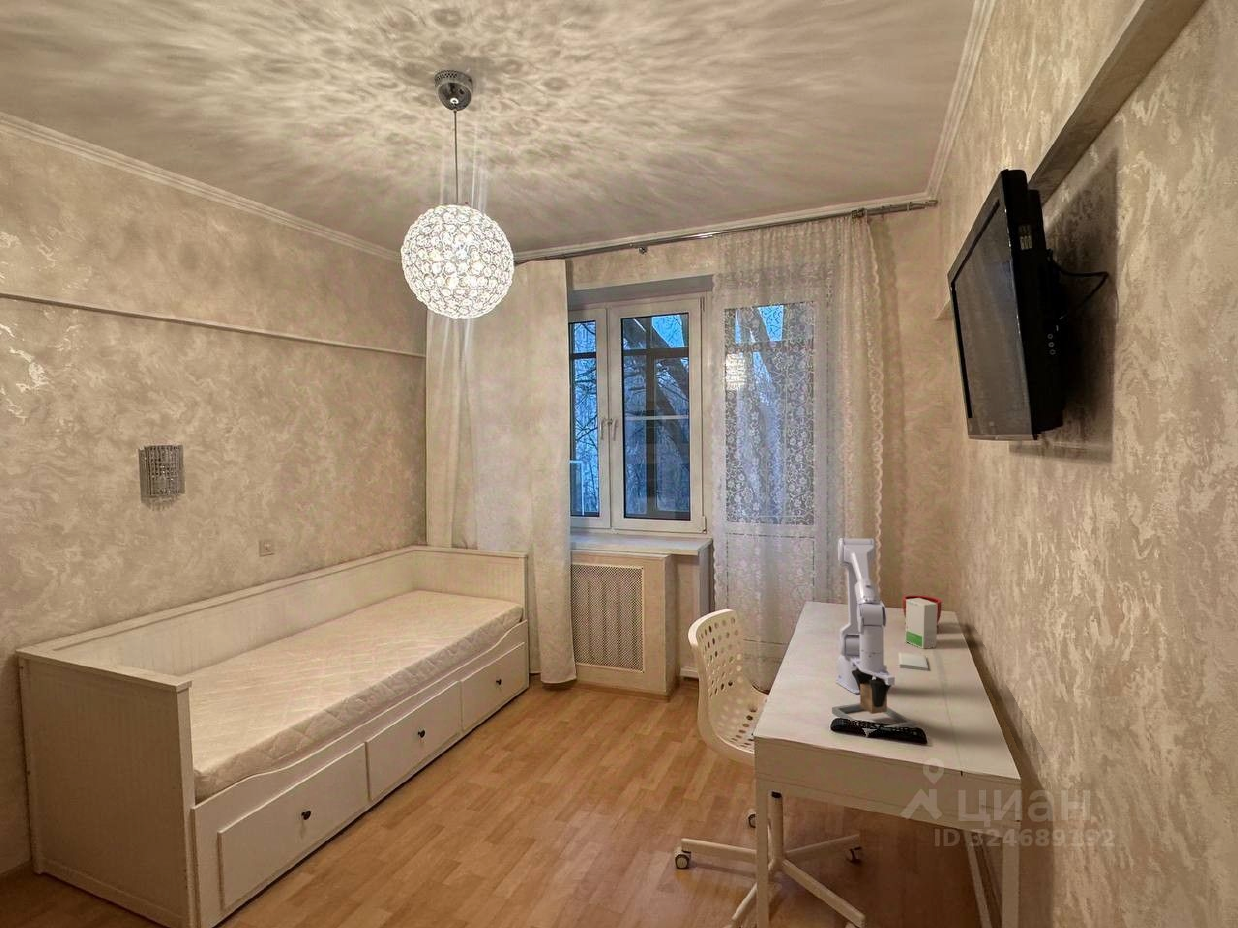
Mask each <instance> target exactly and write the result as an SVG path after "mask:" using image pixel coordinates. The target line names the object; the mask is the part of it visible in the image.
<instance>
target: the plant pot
mask: <svg viewBox="0 0 1238 928" xmlns="http://www.w3.org/2000/svg"><path fill="white" fill-rule="evenodd" d="M915 598H921V599H924V600H928V601H930V602H933V603H936V604H938V609H937V631H938V630H940V626H939V625H938V623H939V622H940V619H941V617H942V616H941V614H942V605H943V604H942V601H941V599H939V598H936V597H931V596H925V595H906V596H903V598H902V610H903V615H904V618H905V619H906V600H907V599H915ZM904 625H905V627H906V621H905V623H904Z"/></svg>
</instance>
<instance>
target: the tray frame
mask: <svg viewBox="0 0 1238 928" xmlns="http://www.w3.org/2000/svg"><path fill="white" fill-rule="evenodd" d="M858 711H866V710H865V709H863V708H862V707H860V702H859V703H852V704H851V703H850V704H846V705H845V704H844V705H840V706H832V707H831V713H832V715H835V716H836V717H838V718H839V717H840V718H844V719H848V720H850V721H855V722H858V721H857V720H856V719H854V718H853V717H851V716H850V715H848V714H847V713H852V712H853V713H854V712H858ZM883 713H884V714H885V715H887V716H888V717H890V718H892V719H893V720H895V721H897V722H898V723H893V724H888V725H883V726H884V727H909V728H915V729H916V727H915V724H916V723H914V722H913V721H912V720H910V719H909V718H907V717H905V716H903V715H902V714H900V713H898V712H897V711H895V710H893V709H892V708H890V707H888V706H887V712H883ZM840 718H839V719H840ZM870 728H871V727H870ZM870 728H867V727H866V728H862V729H863V730H864V732H865V734H866V736H865V737H866V738H869V737H868V735H869V733H871V732H873V731H875V730H877V729H870Z"/></svg>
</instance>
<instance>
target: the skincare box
mask: <svg viewBox="0 0 1238 928" xmlns="http://www.w3.org/2000/svg"><path fill="white" fill-rule="evenodd" d="M937 609H938V604H936V603H933V602H930V601H928V600H924V599H921V598H915V599H907V600H906V618H905V622H906V626H905V633H904V635H905V636H904V638H905V640H904V641H907V642H909V643H911V644H910V645H912V644H913V645H912V646H914V645H915V647H917V646H918V647H917V648H919V647H921V648H920V649H922V648H923V649H922V650H925V649H924V648H927V649H930V648H929V647H933V646H936V647H937V635H938V632H937V631H938V630H937V625H938V623H937V612H938V611H937ZM907 642H906V643H907ZM909 643H908V644H909ZM933 648H934V647H933Z"/></svg>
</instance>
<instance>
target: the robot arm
mask: <svg viewBox="0 0 1238 928" xmlns="http://www.w3.org/2000/svg"><path fill="white" fill-rule="evenodd" d="M876 544H877V543H876V541H875V539H874V538H873V537H872V538H871V537H870V538H853V537H852V538H850V537H849V538H845V537H840V538H839V539H838V541H837V558H838V564H839V565H840V566H842V567H844V568H845V572H846V583H847V584H846V585H847V608H848V609H847V610H848V622H847V623H846V624H844V625H843V626H841V627H840V629H839V631H838V650H839V654H840V655H839V656H838V658H837V663H836V664H837V679H836V680H834V681H835V682H834V683H836V684H838V685H840V686H841V687H843V688H844V689H846V690H848V692H850V693H852V694H853V695H854V694H855V695H857V694H860V684H864V683H870V685H871V688H872V693H873V702H874V706H875V707H883V704H884V700H885V696H886V694H887V695H888V692H889V690H890V688H891V687H892V686H893V685H896V684H895V681H896V680H895V676H893V675H892V674H891V673H890V672H889V671H888V670H887V668H888V667H887V666H886V665H884V664H885V663H884V659H885V657H884V655H885V654H884V652H885V651H884V628H885V627H886V625H887V611H886V607H885V605H884V602H883V600H881V599H880V598H881V597H880V594H879V589H878V585H877V583H876V582H875V581H873V580H872V573H871V572H872V571H871V566H872V565H873V563H874V560H875V559H876V556H877V545H876ZM874 677H875V678H874Z"/></svg>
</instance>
